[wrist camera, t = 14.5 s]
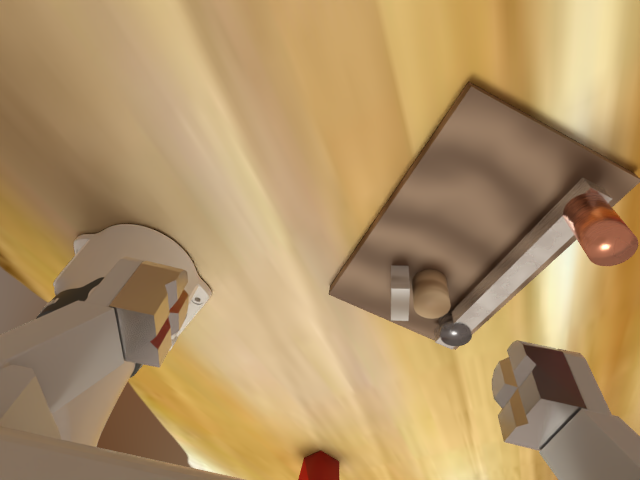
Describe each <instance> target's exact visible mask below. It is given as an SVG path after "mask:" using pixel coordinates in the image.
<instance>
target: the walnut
mask: <svg viewBox="0 0 640 480" xmlns="http://www.w3.org/2000/svg"><path fill="white" fill-rule="evenodd" d="M412 289H413V304H414V310H415V312H416V313H417V314H418V315H420V316H422V317H424V318H429V319H434V318H439V317H442V316H444V315H445V314H447V313H448V311H449V310H450V307H451V304H450V298H449V293H448V287H447V281H446V277H445V276H444V275H443V274H442V273H441V272H439V271H437V270H432V269H428V270H423V271H420V272H418V273H417V274H416V275H415V276H414V277H413V280H412Z"/></svg>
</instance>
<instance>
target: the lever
mask: <svg viewBox="0 0 640 480" xmlns="http://www.w3.org/2000/svg"><path fill="white" fill-rule="evenodd" d="M611 200H612V198H611V196H610V195H609V194H608V193H607V192H606V191H605V189H604V188H602V187H600V186H598V185H596V184H595V183H593V182H591V181H589V180H587V179H585V178H583V177H582V178H581V180H580V181H579V182H578V183H577V184H576V185H575V186H574V187H573V188H572V189H571V190H570V191H569V192H568V193H567V194H566V195H565V196H564V197H563V198H562V199H561V200H560V201H559V202H558V203H557V204H556V205H555V206H554V207H553V208H552V209H551V210H550V211H549V212H548V213H547V214H546V215H545V216H544V217H543V218H542V220H541V221H540V222H539V223H538V224H537V225H536V226H535V227H534V228H533V229H532V230H531V231H530V232H529V233H528V234H527V235H526V236H525V237H524V238H523V239H522V240H521V241H520V242H519V243H518V244H517V245H516V246H515V247H514V248H513V249H512V250H511V251H510V252H509V253H508V254H507V255H506V256H505V257H504V258H503V260H502V261H501V262H500V263H499V264H498V265H497V266H496V267H495V268H494V269H493V270H492V271H491V272H490V273H489V274H488V275H487V276H486V277H485V278H484V279H483V280H482V281H481V282H480V283H479V284H478V285H477V286H476V287H475V288H474V289H473V290H472V291H471V292H470V293H469V294H468V295H467V296H466V297H465V298H464V299H463V301H462V302H461V303H460V304H459V305H458V306H457V307H456V308H455V309H454V310H449V311H448V313H447V314H445V315H444V316H442V317H439V319H438V323H439V325H438V326H437V327H436V328H435V329H434V337H435V342H436V343H438V344H440V345H443V346H445V347H447V348H450V349H453V348H454V347H455V346H461V345H464V344H466V343H468V342H469V341H470V340H471V337H472V334H471V331H472V330H473V329H474V328H475V327H476V326H477V325H478V324H479V323H481V322H482V321H483V320H484V319H485V318H486V317H487V316H488V315H489V314H490V313H491V312H492V311H493V310H494V309H496V308H497V307H498V306H499V305H500V304H501V303H502V302H503V301H504V300H505V299H506V298H507V297H508V296H509V295H510V294H512V293H513V292H514V291H515V290H516V289H517V288H518V287H519V286H520V285H521V284H522V283H523V282H524V281H525V280H526V279H528V278H529V277H530V276H531V275H532V274H533V273H534V272H535V271H536V270H537V269H538V268H539V267H540V266H541V265H542V264H544V263H545V262H546V261H547V260H548V259H549V258H550V257H551V256H552V255H553V254H554V253H555V252H556V251H557V250H558V249H560V248H561V247H562V246H563V245H564V244H565V243H566V242H567V241H568V240H569V239H570V238H571V237H572V236H573V235H575V237H576V238H577V240H578V242H579V243H580V245H581V246H582V248H583V250H584V251H585V253H586V254H587V256H588V258H589V259H590V260H591V261H592V262H593V263H594V264H597V265H600V266H612V265H617V264H620V263H622V262H624V261H626V260H628V259H629V258H630V257H631V256H632V255H633V254H634V253H635V252H636V250H637V248H638V240H637V238H636V236H635V235H634V234H633V233H632V231H631V230H630V229H629V228H628V227H627V225H626V224H625V223H624V222H623V221H622V219H621V218H620V217H619V216H618V214H617V213H616V212H615V211H614V210H613V208H612V207H611V206H610V205H609V204H608V203H609V202H610V201H611Z"/></svg>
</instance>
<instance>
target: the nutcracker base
mask: <svg viewBox="0 0 640 480" xmlns="http://www.w3.org/2000/svg"><path fill="white" fill-rule="evenodd" d="M582 177H583V178H585V179H587V180H589V181H591V182H593V183H595V184H596V185H598V186H600V187H602V188H604V189H605V191H606V192H607V193H608V194H609V195H610V196H611V198H612V200H611V201H610V202H609V203H608V204H609V205H610V206H611V207H613V206H614V205H615V204H616V203H617V202H618V201H619V200H621V199H622V198H623V197H624V196H625V195H626V194H627V193H628V192H629V191H630V190H631V189H633V188H634V187H635V186H636V185H637V184H638V183H639V182H640V178H638V177H637V176H636V175H635V174H634V173H633V172H631V171H629V170H627V169H626V168H624V167H622V166H620V165H618V164H617V163H615V162H613V161H611V160H609V159H607V158H606V157H604V156H602V155H600V154H598V153H597V152H595V151H593V150H591V149H589V148H588V147H586V146H584V145H582V144H580V143H579V142H577V141H575V140H573V139H571V138H570V137H568V136H566V135H564V134H562V133H561V132H559V131H557V130H555V129H553V128H551V127H550V126H548V125H546V124H544V123H542V122H541V121H539V120H537V119H535V118H533V117H532V116H530V115H528V114H526V113H524V112H523V111H521V110H519V109H517V108H515V107H514V106H512V105H510V104H508V103H506V102H504V101H503V100H501V99H499V98H497V97H495V96H494V95H492V94H490V93H488V92H486V91H485V90H483V89H481V88H479V87H477V86H476V85H474V84H472V83H470V82H468V83H467V85H466V86H465V88H464V89H463V91H462V92H461V94H460V95H459V97H458V98H457V100H456V101H455V103H454V104H453V106H452V107H451V109H450V110H449V111H448V113H447V114H446V116H445V117H444V119H443V120H442V122H441V123H440V125H439V126H438V128H437V129H436V131H435V132H434V134H433V135H432V137H431V138H430V140H429V141H428V143H427V144H426V145H425V147H424V148H423V150H422V151H421V153H420V154H419V156H418V157H417V159H416V160H415V162H414V163H413V165H412V166H411V168H410V169H409V171H408V172H407V174H406V175H405V176H404V178H403V179H402V181H401V182H400V184H399V185H398V187H397V188H396V190H395V191H394V193H393V194H392V196H391V197H390V199H389V200H388V202H387V203H386V205H385V206H384V208H383V209H382V210H381V212H380V213H379V215H378V216H377V218H376V219H375V221H374V222H373V224H372V225H371V227H370V228H369V230H368V231H367V233H366V234H365V236H364V237H363V239H362V240H361V241H360V243H359V244H358V246H357V247H356V249H355V250H354V252H353V253H352V255H351V256H350V258H349V259H348V261H347V262H346V264H345V265H344V267H343V268H342V270H341V271H340V273H339V274H338V275H337V277H336V278H335V280H334V281H333V283H332V284H331V286H330V290H329V295H331V296H334V297H336V298H338V299H340V300H343V301H345V302H347V303H350V304H352V305H354V306H357V307H359V308H361V309H363V310H366V311H368V312H370V313H373V314H375V315H377V316H379V317H382V318H384V319H386V320H389V321H391V322H393V323H396V324H398V325H400V326H402V327H405V328H407V329H409V330H412V331H414V332H416V333H418V334H421V335H423V336H425V337H428V338H430V339H432V340H435V337H434V329H435V328H436V327H437V326H438V325H439V323H438V319H439V318H434V319H429V318H424V317H422V316H420V315H418V314H417V313H416V312H415V310H414V304H413V289H412V280H413V277H414V276H415V275H416V274H417V273H418V272H420V271H423V270H428V269H432V270H437V271H439V272H441V273H442V274H443V275H444V276H445V277H446V281H447V287H448V293H449V298H450V304H451V307H450V310H454V309H455V308H456V307H457V306H458V305H459V304H460V303H461V302H462V301H463V299H464V298H465V297H466V296H467V295H468V294H469V293H470V292H471V291H472V290H473V289H474V288H475V287H476V286H477V285H478V284H479V283H480V282H481V281H482V280H483V279H484V278H485V277H486V276H487V275H488V274H489V273H490V272H491V271H492V270H493V269H494V268H495V267H496V266H497V265H498V264H499V263H500V262H501V261H502V260H503V258H504V257H505V256H506V255H507V254H508V253H509V252H510V251H511V250H512V249H513V248H514V247H515V246H516V245H517V244H518V243H519V242H520V241H521V240H522V239H523V238H524V237H525V236H526V235H527V234H528V233H529V232H530V231H531V230H532V229H533V228H534V227H535V226H536V225H537V224H538V223H539V222H540V221H541V220H542V218H543V217H544V216H545V215H546V214H547V213H548V212H549V211H550V210H551V209H552V208H553V207H554V206H555V205H556V204H557V203H558V202H559V201H560V200H561V199H562V198H563V197H564V196H565V195H566V194H567V193H568V192H569V191H570V190H571V189H572V188H573V187H574V186H575V185H576V184H577V183H578V182H579V181H580V180H581V178H582ZM575 240H577V238H576V237H575V235H573V236H572V237H571V238H570V239H569V240H568V241H567V242H566V243H565V244H564V245H563V246H562V247H561V248H560V249H558V250H557V251H556V252H555V253H554V254H553V255H552V256H551V257H550V258H549V259H548V260H547V261H546V262H545V263H544V264H542V265H541V266H540V267H539V268H538V269H537V270H536V271H535V272H534V273H533V274H532V275H531V276H530V277H529V278H528V279H526V280H525V281H524V282H523V283H522V284H521V285H520V286H519V287H518V288H517V289H516V290H515V291H514V292H513V293H512V294H510V295H509V296H508V297H507V298H506V299H505V300H504V301H503V302H502V303H501V304H500V305H499V306H498V307H497V308H496V309H494V310H493V311H492V312H491V313H490V314H489V315H488V316H487V317H486V318H485V319H484V320H483V321H482V322H481V323H479V324H478V325H477V326H476V327H475V328H474V329H473V330H472V331H471V334H473V333H474V332H475V331H477V330H478V329H479V328H480V327H481V326H482V325H483V324H484V323H485V322H486V321H488V320H489V319H490V318H491V317H492V316H493V315H494V314H495V313H496V312H497V311H499V310H500V309H501V308H502V307H503V306H504V305H505V304H506V303H507V302H508V301H510V300H511V299H512V298H513V297H514V296H515V295H516V294H517V293H518V292H519V291H520V290H522V289H523V288H524V287H525V286H526V285H527V284H528V283H529V282H530V281H531V280H533V279H534V278H535V277H536V276H537V275H538V274H539V273H540V272H541V271H542V270H544V269H545V268H546V267H547V266H548V265H549V264H550V263H551V262H552V261H553V260H555V259H556V258H557V257H558V256H559V255H560V254H561V253H562V252H563V251H564V250H566V249H567V248H568V247H569V246H570V245H571V244H572V243H573V242H574V241H575ZM458 347H459V346H455V347H454V348H453V349H455V350H456V349H457V348H458Z"/></svg>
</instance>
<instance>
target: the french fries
mask: <svg viewBox="0 0 640 480" xmlns="http://www.w3.org/2000/svg"><path fill="white" fill-rule="evenodd" d="M298 480H339V461H337V460H336V459H334V458H332V457H331V456H329V455H327V454H326V453H324V452H322V451H319V452H316V453H314V454H312V455H310V456H307V457H305V458H304V461H303V464H302V468H301V472H300V475H299V479H298Z"/></svg>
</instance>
